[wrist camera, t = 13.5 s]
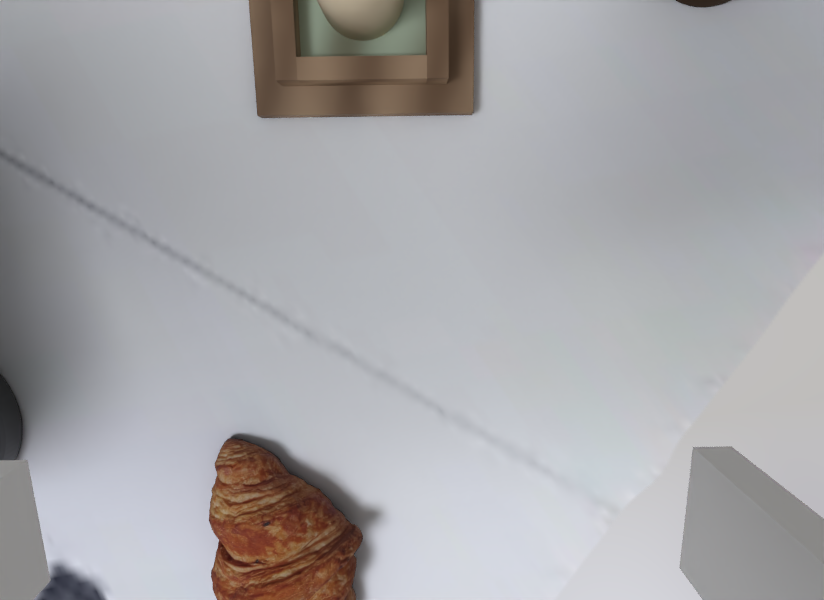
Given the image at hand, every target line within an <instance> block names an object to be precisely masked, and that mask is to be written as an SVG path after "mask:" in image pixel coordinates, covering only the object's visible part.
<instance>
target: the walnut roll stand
mask: <svg viewBox="0 0 824 600" xmlns="http://www.w3.org/2000/svg"><path fill="white" fill-rule="evenodd" d="M249 9H250V22H251V35H252V49H253V62H254V75H255V88H256V102H257V115H258V116H259V117H261V118H292V117H361V116H430V115H472V113H473V93H474V0H404V4H403V9H402V12H401V14H400V17H399V19H398V20H397V22H396V23H395V25H394V26H393V27H392V28H391V29H390V30H389V31H388V32H387V33H385V34H384V35H382V36H380V37H378V38H376V39H372V40H367V41H358V40H353V39H350V38H347V37H345V36H343V35H341V34H340V33H338V32H337V31H336V30H335V29H334V28H333V27H332V26H331V25H330V24H329V22H328V21H327V19H326V18H325V16H324V14H323V12H322V10H321V8H320V6H319V4H318V2H317V0H249Z"/></svg>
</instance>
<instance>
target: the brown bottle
mask: <svg viewBox="0 0 824 600" xmlns="http://www.w3.org/2000/svg"><path fill="white" fill-rule="evenodd" d="M676 1H678V2H680V3H683V4H686V5H689V6H694V7H711V6H716V5H720V4H723V3H726V2H728V1H731V0H676Z"/></svg>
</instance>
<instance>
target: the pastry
mask: <svg viewBox="0 0 824 600" xmlns="http://www.w3.org/2000/svg"><path fill="white" fill-rule="evenodd" d="M215 468H216V471H217V478H216V481H215V484H214V486H213V488H212V498H211V502H210V510H209V512H210V515H209V522H210V525H211V528H212V530H213V532H214V533H215V535H216V536H217V537H218V539H219V544H218V549H217V552H216V558H215V562H214V567H213V569H212V572H211V578H212V581H213V591H214V593H215V596H216V598H217V600H356V595H355V592H354V589H353V587H352V584H353V579H354V576H355V569H356V561H357V559H356V557H355V556H354V553H355V552H356V550H357V549H358V548H359V547H360V545H361V542H362V540H363V536H362V533H361V530H360V529H359V528H358V527H357V526H356V525H355V524H351V523H350V522H349V521H348V520H347V519H346V518H345V516H344V515H343V513H342V512H341V511H339V510H337V509H336V508H334V507H333V505H332V502H331V500H330V499H329V498H328V497H327V496H325V495H324V494H323V493H322V492H321V490H320V489H317V488H315V487H313V486H312V485H308V484H307V483H306V482H305V481H304V480H303V479H300V478H298V477H297V476H295V475H291V474H289V472H288V471H287V470H286V468H285V466H284V465H283V464H282V463H281V461H280V459H279V458H278V457H276V456H275V455H274V454H272V453H271V452H269V451H267V450H265V449H264V448H261V447H259V446H257V445H255V444H252V443H248V442H246V441H243V440H242V439H227V440H226V442H225V443H224V445H223V446H222V448H221V449H220V452H219V455H218V457H217V460H216V462H215Z"/></svg>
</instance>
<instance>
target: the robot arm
mask: <svg viewBox="0 0 824 600" xmlns="http://www.w3.org/2000/svg"><path fill="white" fill-rule="evenodd" d="M21 438H22V422H21V416H20V412H19V408H18V405H17V402H16V400H15V397H14V395H13V393H12V391H11V390H10V388H9V386H8V385H7V383H6V382H5V380H4V379H3V377H2V376H1V375H0V600H33V599H34V598H35V597H36V596H37V595H38V594H39V593H40V592H41V591H42V589H43V588H44V587H45V586H46V585H47V584H48V583H49V582H50V576H49V571H48V565H47V560H46V555H45V550H44V545H43V539H42V534H41V529H40V524H39V519H38V513H37V508H36V503H35V498H34V493H33V487H32V482H31V477H30V472H29V466H28V461H27V460H15V459H16V457H17V455H18V452H19V449H20V445H21ZM683 533H684V534H683V542H682V550H681V560H680V569H681V570H682V572H683V573H684V575H685V576H686V577H687V579H688V580H689V582H690V583H691V584H692V585H693V587H694V588H695V590H696V591H697V592H698V594H699V595H700V597H701V598H702V599H703V600H824V519H823V518H822V517H821V516H819V515H818V514H817V513H816V512H814V511H813V510H812V509H811V508H809V507H808V506H807V505H805V504H804V503H803V502H802V501H800V500H799V499H798V498H796V497H795V496H794V495H793V494H791V493H790V492H789V491H787V490H786V489H785V488H784V487H782V486H781V485H780V484H779V483H777V482H776V481H775V480H773V479H772V478H771V477H770V476H768V475H767V474H766V473H765V472H763V471H762V470H761V469H759V468H758V467H757V466H756V465H754V464H753V463H752V462H751V461H749V460H748V459H747V458H745V457H744V456H743V455H742V454H740V453H739V452H738V451H736V450H735V449H734V448H732V447H693V452H692V460H691V469H690V478H689V488H688V496H687V506H686V515H685V523H684V532H683Z"/></svg>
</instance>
